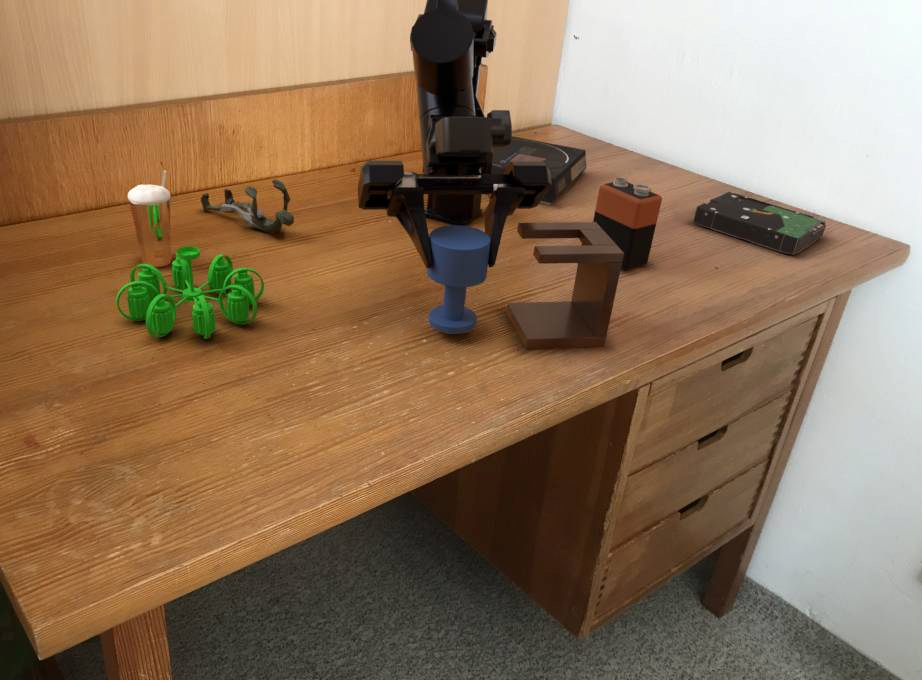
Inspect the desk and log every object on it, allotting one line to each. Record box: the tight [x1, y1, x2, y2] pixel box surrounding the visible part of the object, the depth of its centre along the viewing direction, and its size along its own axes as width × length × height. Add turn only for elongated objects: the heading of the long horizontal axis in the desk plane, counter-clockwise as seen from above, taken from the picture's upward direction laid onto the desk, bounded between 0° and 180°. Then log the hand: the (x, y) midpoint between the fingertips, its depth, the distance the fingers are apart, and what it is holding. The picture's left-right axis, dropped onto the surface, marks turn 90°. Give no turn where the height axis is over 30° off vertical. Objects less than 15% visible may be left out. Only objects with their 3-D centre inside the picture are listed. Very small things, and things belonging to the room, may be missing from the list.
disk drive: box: [693, 191, 827, 256], centre depth 115 cm, size 10×3×15 cm
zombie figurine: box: [200, 179, 295, 235], centre depth 105 cm, size 5×7×15 cm
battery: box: [592, 176, 663, 271], centre depth 102 cm, size 4×7×10 cm, turn 35°
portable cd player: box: [491, 135, 587, 206], centre depth 128 cm, size 16×17×4 cm
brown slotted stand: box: [505, 221, 624, 350], centre depth 85 cm, size 8×8×10 cm
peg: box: [426, 224, 491, 335], centre depth 83 cm, size 6×6×10 cm
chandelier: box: [115, 246, 265, 340], centre depth 84 cm, size 15×15×7 cm
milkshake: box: [127, 170, 172, 269], centre depth 94 cm, size 4×5×10 cm
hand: (460, 266), depth 80 cm, fingers closed on peg, 6 cm apart
